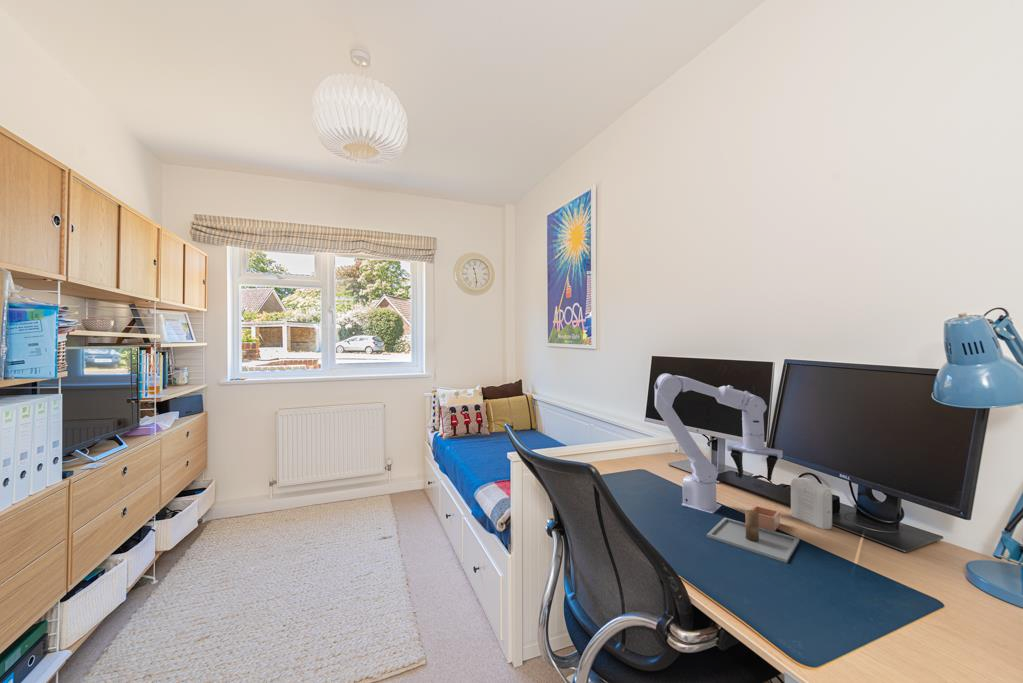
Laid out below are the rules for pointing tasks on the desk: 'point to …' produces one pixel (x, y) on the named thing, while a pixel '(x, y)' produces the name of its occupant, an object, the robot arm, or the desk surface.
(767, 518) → the tan open box
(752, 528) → the pin
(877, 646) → the desk surface
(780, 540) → the tray
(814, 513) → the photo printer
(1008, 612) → the desk surface
